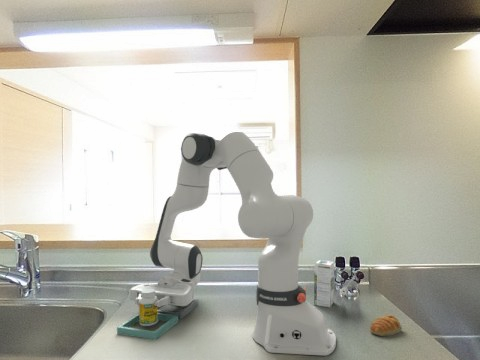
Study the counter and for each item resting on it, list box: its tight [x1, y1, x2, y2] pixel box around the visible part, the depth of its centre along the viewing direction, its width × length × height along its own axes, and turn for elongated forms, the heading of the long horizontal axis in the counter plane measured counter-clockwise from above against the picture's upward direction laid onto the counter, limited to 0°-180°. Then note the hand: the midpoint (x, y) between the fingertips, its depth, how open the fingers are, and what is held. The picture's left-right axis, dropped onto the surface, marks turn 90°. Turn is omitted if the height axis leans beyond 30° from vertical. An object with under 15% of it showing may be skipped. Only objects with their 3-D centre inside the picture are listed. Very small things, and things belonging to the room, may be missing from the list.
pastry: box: [370, 314, 403, 337], centre depth 99 cm, size 9×7×4 cm
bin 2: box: [158, 299, 199, 320], centre depth 116 cm, size 13×13×2 cm
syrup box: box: [313, 259, 335, 308], centre depth 120 cm, size 6×6×14 cm
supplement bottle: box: [138, 289, 159, 327], centre depth 102 cm, size 5×5×10 cm
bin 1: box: [116, 313, 179, 340], centre depth 102 cm, size 13×13×2 cm
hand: (146, 303), depth 102 cm, fingers closed on supplement bottle, 5 cm apart
